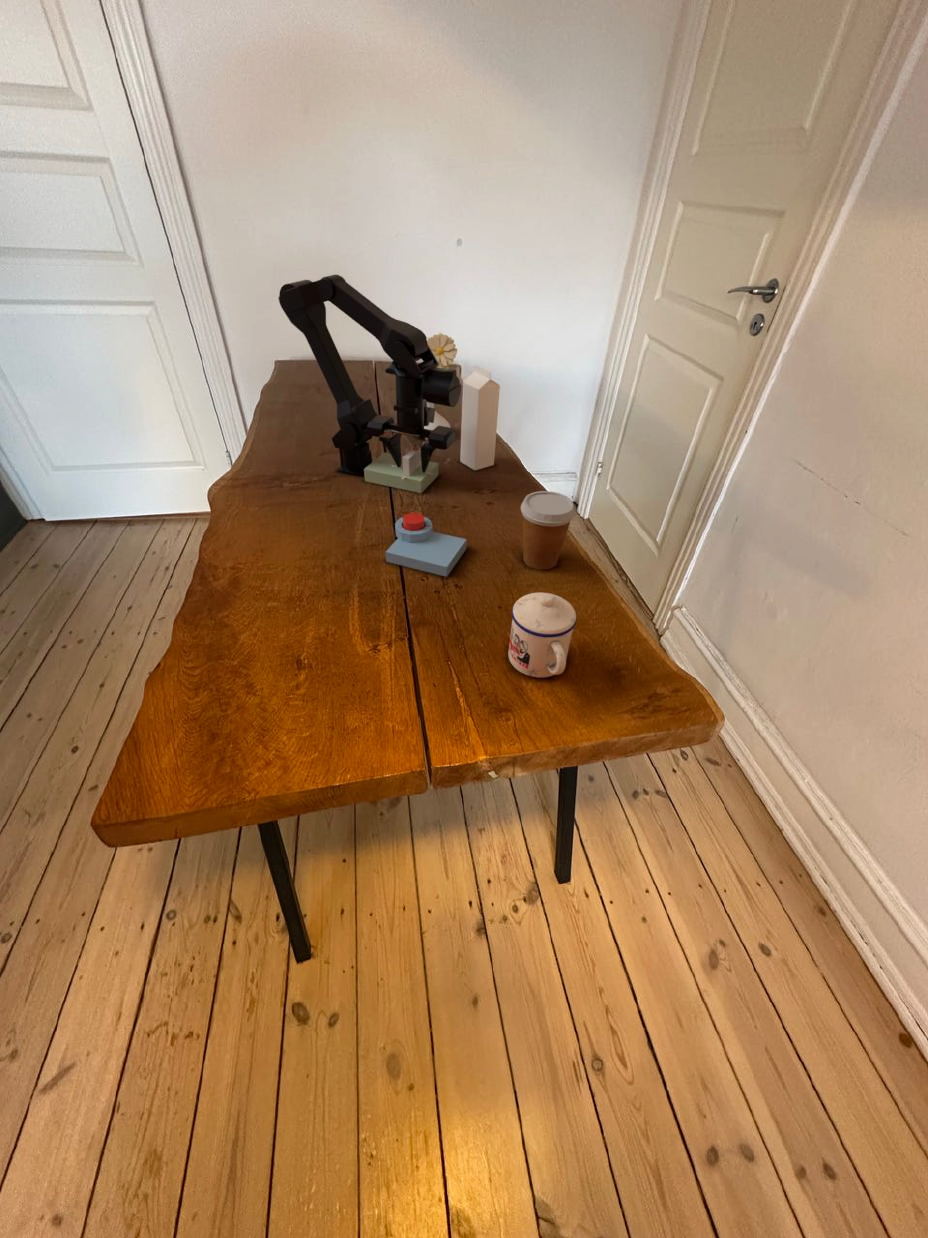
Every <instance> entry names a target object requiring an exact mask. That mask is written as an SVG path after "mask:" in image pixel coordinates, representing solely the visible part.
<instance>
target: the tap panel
mask: <svg viewBox="0 0 928 1238" xmlns="http://www.w3.org/2000/svg"><path fill="white" fill-rule="evenodd" d="M404 456H405V455H401V459H402V461H401V467H397V465H396V463H395V461H394V459H393V458H392V456H391V454H390V452H383V453H382V454H380V455H379V456H378V457H376V459H374V460H372V463H371V464H370V465H368V466H367V467H366V468H365V469H364V475H363V476H364V482H365V483H371V484H376V485H379V486H385V487H390V488H394V489H399V490H404V491H408V492H413V493H416V494H422V493H423V492H424V491H425V490H426V489H427V488H428V487H429V486H430V485H431V484H432V483H433V482H434V481H435V480H436V478H438V476H439V470H440V469H439V467H440V466H439V462H434V461H429V464H428V467H427V469H426V471H425V472H424V473H423V472H422V465H421V459H420V466H419V467H418V468H417V469H416V470H415V471H414V472H413V473H412V474H411V475H410V476H407V475H403V457H404Z"/></svg>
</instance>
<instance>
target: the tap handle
mask: <svg viewBox="0 0 928 1238" xmlns="http://www.w3.org/2000/svg"><path fill="white" fill-rule="evenodd" d="M403 456H404V457H403V475H407V476H410V475H411V474H412V473H413V472H414V471H415V470H416V469H417V468H418V467H419V466H420V460H421V448H420V447H417V446H413V447H412V449H411V450H409V451H408V452H407V453H406V454H405V455H403Z"/></svg>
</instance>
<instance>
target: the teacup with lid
mask: <svg viewBox="0 0 928 1238" xmlns="http://www.w3.org/2000/svg"><path fill="white" fill-rule="evenodd" d="M511 617H512V620H511V626H510V627H511V629H510V637H509V644H508V653H507V654H508V660H509V662H510V664H511V665H512V667H513V668H514V669H515V670H517V671H518V672H519V673H521V674H523V675H526V676H528V677H533V678H549V677H552V676H557V675H561V674H562V673H564V671H565V669H566V666H567V658H568V653H569V649H570V645H571V640H572V635H573V631H574V628H575V626H576V625H577V621H578V620H577V619H578V618H577V612H576V610H575V608H574V606H573V605H572V604H571V603H570V602H569V601H568V600H566V599H565V598H563V597H561V596H559V595H556V594H554V593H549V592H532V593H528V594H525V595H523V596H521V597H520V598H518V599H517V600H516V601H515V603H514V604H513V606H512V609H511Z"/></svg>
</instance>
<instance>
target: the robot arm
mask: <svg viewBox="0 0 928 1238" xmlns="http://www.w3.org/2000/svg"><path fill="white" fill-rule="evenodd" d="M277 298H278V302H279V306H280V307H281V309H282V311H283V312H284V314H285V316H286V318H287V319H288V320H289V322H290V323H291V325H292V326H294V328H296V329H297V330H298V331H299V332H300V333H302V334H303V335H304V337H305V339H306V342H307V343H308V345H309V347H310V350H311V353H312V355H313V356H314V358H315V360H316V362H317V365H318V368H319V369H320V371H321V374H322V376H323V377H324V380H325V382H326V384H327V386H328V388H329V390H330V392H331V395H332V396H333V398H334V401H335V404H336V420H337V423H338V426H339V430H338V431H337V432H336V433H335V434H334V435H333V436H332V437H331V441H332V443H333V446H334V448H336V449H338V451H339V459H340V461H339V462H340V466H339V467H337V472H340V473H346V474H350V475H354V476H362V477H363V476H364V469H365V468H366V467H367V466H368V465H370V464H371V463H372V462H373V455H372V454H373V453H372V449H370V442H368V441H370V440H372V439H373V437H374V438H378V441H379V442H382V443H383V445H384V446H385V448H386V449H387V451H388V453H389V454H391V456H392V458H393V459H394V461H395V463H396V465H397V467H401V461H402V459H401V456H402V448H401V447H402V445H401V440H402V435H403V436H408V437H413V438H419V439H424V441H425V442H424V444H422V445H420V460H421V465H422V472H423V473H424V472H425V471H426V469H427V467H428V464H429V462H431V458H432V455H433V453H434V451H436V450H443V451H444V450H447V449H449V448H450V447H451V446H452V445H453V444H454V443H455V442H456V439H457V438H456V437H457V433H456V431H455V429H454V428H453V427H451V428H449V427H444V426H437V427H436V428H435V429H434V430H428V429H424V426H428V425H429V422H430V423H434V416H435V411H436V408H435V407H434V408H430V407H427V402H429V403H434V405H439V406H444V407H449V408H455V407H456V406H457V405H458V404H459V401H460V398H461V392H462V385H461V382H460V378H459V376H458V375H457V373H458V372H457V369H455V368H454V369H453V368H450V369H443V368H437V367H438V366H439V364H438V362H437V360H436V358H435V356H434V355H433V353H432V351H431V349H430V348H429V346H428V343H427V339H428V337H427V336H426V333H424V331H422V330H421V329H420V328H418V327H416V326H414V325H412V324H410V323H408V322H406V321H403V320H398V319H396V318H394V317H392V316H391V315H389V314H388V313H387V312H386V311H384V310H383V309H382V308H380V307H379V306H378V305H376V304H375V303H374V302H372V301H371V300H370V299H369V298H367V297H366V296H365V295H363V294H362V293H361V292H359V291H358V290H357V289H356V288H355V287H353V286H352V285H351V284H350V283H348V282H347V281H346V279H345V278H344V277H343V276H342V275H339V274H331V275H326V276H323V277H321V278H320V279H318V280H315V281H312V280H310V279H303V280H298V281H293V282H290V283H285V284H283V285H282V286H281V287H280V289H279V296H278V297H277ZM326 302H330V303H331V304H332V305H333V306H335V307H336V308H337V309H338V310H340V312H343V313H344V314H345V315H346V316H348V317H349V318H350V319H351V320H352V321H354V322H355V323H356V324H358V325H359V326H360V327H362V329H364V330H366V332H368V333H369V334H371V335H372V336H373V337H374V338H375V339H376V340H377V341H378V342H379V344H380V346H381V348H382V350H383V352H384V353H385V354H386V355H387V356H388V357H389V358H390V359H391V360H392V361H391V363H390V365H389V366H388V367H386V368H385V369H384V372H385V374H390V375H394V379H395V401H396V403H395V404H394V405H393V411H395V412H396V423H395V419H394V418H393V416H388V415H383V414H378V413H377V411H376V410H375V408H374V405H373V403H372V400H371V399H370V398H367V399H366V400H365V399H364V398H362V397H361V396H360V395H359V393H358V392H357V390H356V388H355V386H354V384H353V382H352V379H351V377H350V375H349V373H348V370H347V368H346V366H345V363H344V362H343V359H342V357H341V355H340V352H339V350H338V348H337V346H336V344H335V341H334V339H333V337H332V334H331V333H330V331H329V328H328V326H327V325H328V324H327V307H326V305H325V303H326ZM420 360H421V362H420V363H418V361H420ZM425 400H426V401H425Z"/></svg>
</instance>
